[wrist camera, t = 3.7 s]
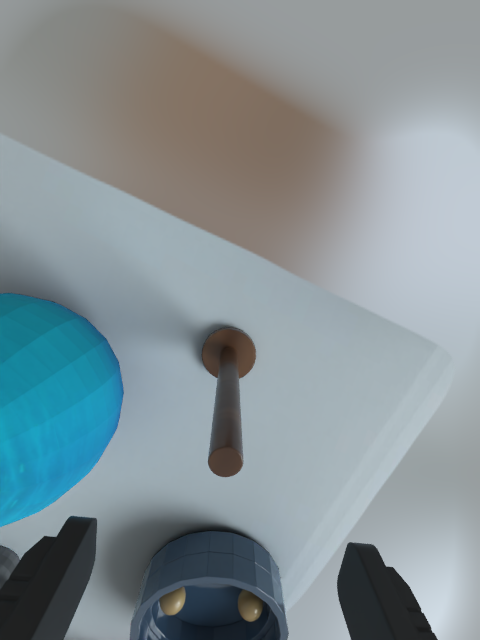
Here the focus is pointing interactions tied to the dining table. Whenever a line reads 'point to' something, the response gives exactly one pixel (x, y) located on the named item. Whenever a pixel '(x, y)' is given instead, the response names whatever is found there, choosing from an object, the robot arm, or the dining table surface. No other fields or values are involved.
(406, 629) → the robot arm
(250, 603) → the bead
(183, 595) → the bead
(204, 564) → the bowl
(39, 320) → the decorative orb
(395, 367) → the dining table surface
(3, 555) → the beverage cup
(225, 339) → the stirrer
